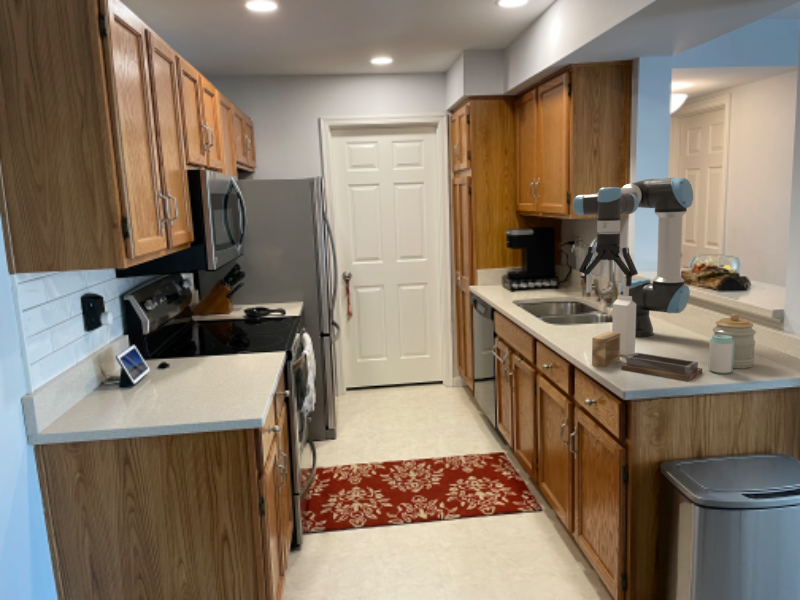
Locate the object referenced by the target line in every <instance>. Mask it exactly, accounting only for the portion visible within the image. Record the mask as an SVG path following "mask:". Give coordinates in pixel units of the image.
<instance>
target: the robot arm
mask: <svg viewBox="0 0 800 600" xmlns="http://www.w3.org/2000/svg"><path fill="white" fill-rule="evenodd" d="M692 186H693V185H692V184H691V182H690V181H689V180H688V179H687V178H686V177H665V178H650V179H644V180H639V181H636V182H632V183H628V184H625V185H623V186H622V187H601V188H599V190H598V191H597V192H596V193H591V194H590V193H589V194H578V195H576V196H575V197H574V199H573V201H572V210H573V212H574V213H575V214H576V215H577V216H597V219H596V220H597V221H596V222H597V223H596V232H597V234H596V247H595V246H588V248H587V253H586V255H585V257H584V260H583V261H582V264H581V265H580V267H579V270H578V271H579V272H580V273H583V275H584V278H583V279H584V280H583V281H584V283H585V284H586V288H585V289H586V290H585V292H586V294H588V293H589V294H590V293H592V292H593V273H591V272H592V271H593V270H594V269H595V267H597V265H598V264H599V263H600V262H601V261H613V262H615V263H616V265H617V266H618V267H619V269H620V270H621V272H622V273H623V274H624V275H625V276H623V281H622V282H621V284H620V291H619V293H620V294H619V295H623V296H632V301H633V302H635V303H636V331H635V338H637V337H638V338H639V337H641V338H642V337H648V336H649V337H650V336H652V335H654V327H653V324H652V320H651V317H650V311H651V312H659V313H666V314H667V313H668V314H681V313H682V312H683V311H684V310H685V309H686V307H687V305H688V302H689V299H690V292H691V291H690V288H689V286H688V285H687V284H685V279H684V278H682V276H681V263H682V262H681V261H682V260H681V256H682V234H683V233H682V231H683V216H684V215H685V214H686V213H687V209H688V208H691V206H692V205H693V200H694V191H693V187H692ZM638 208H643V209H654V214H655V215H657V217H658V233H657V263H656V264H657V266H656V267H657V268H656V269H657V270H656V276H655V277H654V278H653V279H652V281H651V279H650V278H637V279H633V278H632V277H633V276H636V275H638V274H639V272H638V270H637V268H636V266H635V263H634V261H633V259H632V257H631V254H630V248H629V247H628V246H627V247H622V248H621V246H620V244H621V234H620V232H621V216H623V215H624V216H628V215H631V214H634V213H635V212H636V211H637V210H638ZM595 253H597V255H596V256H595V257H594V254H595ZM620 253H621V254H622V256H623V259H624V261H625V262H624V261H623V259H622V257H621V256H620V255H619V254H620ZM593 257H594V259H593V260H592V258H593ZM591 260H592V261H591ZM590 262H591V263H590Z"/></svg>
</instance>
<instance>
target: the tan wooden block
mask: <svg viewBox="0 0 800 600" xmlns="http://www.w3.org/2000/svg"><path fill="white" fill-rule="evenodd" d="M591 341H592V342H591V344H592V345H591V346H592V348H591V366H595V367H601V368H605V367H608V366H610V365H612V364H614V363H617V362H619V361H620V357H621V355H620V333H615V332H612V331H606V332H604V333H600V334H599V335H595V336H594V337H592V340H591Z"/></svg>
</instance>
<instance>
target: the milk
mask: <svg viewBox="0 0 800 600" xmlns="http://www.w3.org/2000/svg"><path fill="white" fill-rule="evenodd" d="M611 327H612V331H611V332H615V333H620V356H624V357H625V356H626V357H628V356H630V355H632V354H634V353H636V337H635V331H636V303H635V302H633V301H632V296H623V295H620V294H617V299H616V300H615V301H614V302H613V303H612V326H611Z"/></svg>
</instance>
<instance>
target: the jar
mask: <svg viewBox="0 0 800 600" xmlns="http://www.w3.org/2000/svg"><path fill="white" fill-rule="evenodd" d="M715 324H716V326H714V327H713V328H712V332H714V333H713V335H729V336H732V339H733V341H734V357H733V369H749V368H752V367H753V366H754V364H755V344H756V340H755V334H757V331H756V330H755V329H754V328H753V327H754V326H755V325H754V323H752V322H751V321H750V320H748V319H745V318H740V316H739V314H738V313H731V315H730V317H725V318H721V319H719V320H717V321H716V322H715ZM748 367H749V368H748Z"/></svg>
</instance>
